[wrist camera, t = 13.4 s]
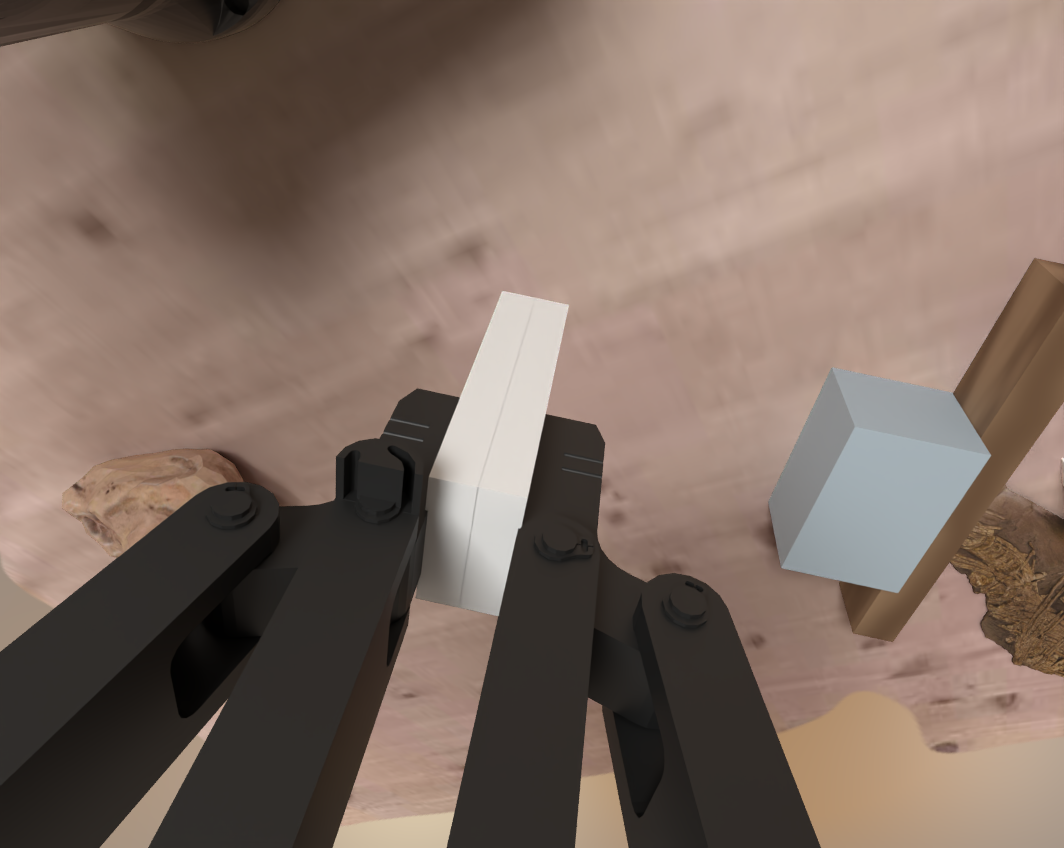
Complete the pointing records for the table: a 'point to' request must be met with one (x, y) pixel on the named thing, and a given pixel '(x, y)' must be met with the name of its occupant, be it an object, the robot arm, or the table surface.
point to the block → (873, 479)
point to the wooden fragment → (1019, 579)
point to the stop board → (987, 433)
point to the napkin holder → (1063, 468)
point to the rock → (142, 493)
